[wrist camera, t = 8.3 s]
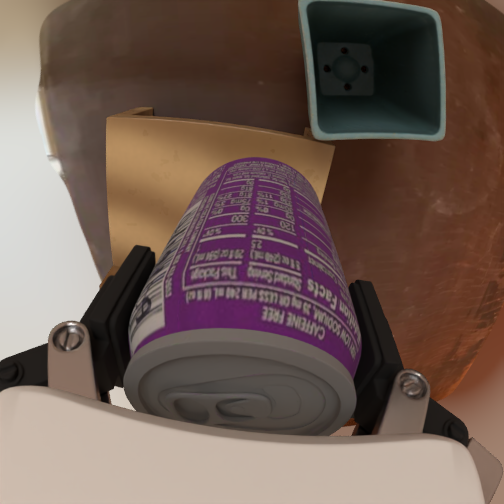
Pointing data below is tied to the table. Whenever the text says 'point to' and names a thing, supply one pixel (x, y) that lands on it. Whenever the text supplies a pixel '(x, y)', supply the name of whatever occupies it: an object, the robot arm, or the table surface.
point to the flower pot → (373, 70)
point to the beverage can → (247, 311)
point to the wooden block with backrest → (185, 170)
